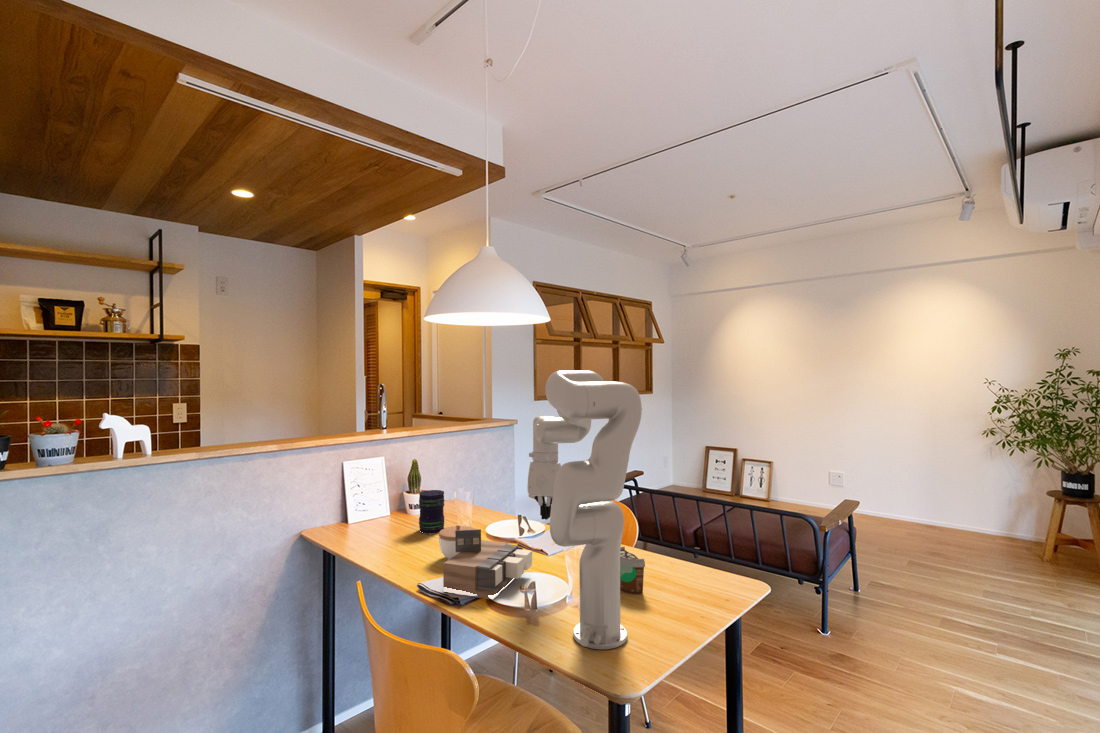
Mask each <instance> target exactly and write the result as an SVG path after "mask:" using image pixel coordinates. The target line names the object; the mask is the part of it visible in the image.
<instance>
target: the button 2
mask: <svg viewBox="0 0 1100 733" xmlns="http://www.w3.org/2000/svg"><path fill="white" fill-rule="evenodd" d="M513 553H515V557H517V558H523V570H524V571H527V570H529V569H530V568H531V567H532V566H533V550H529V549H528V550H527V549H523V550H521V549H516V550H515V551H514V552H513Z"/></svg>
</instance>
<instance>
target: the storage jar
mask: <svg viewBox="0 0 1100 733" xmlns="http://www.w3.org/2000/svg"><path fill="white" fill-rule="evenodd" d="M418 495H419V498H418V507H419V518H418V525H419V530H420V531H421V532H423V533H436V534H438V533H437V532H440V531H441V530H442V529H445V515H444V512H445V511H444V507H445V491H444V490H440V489H430V490H429V489H428V490H424V491H421V492H419V494H418ZM423 533H422V534H423Z"/></svg>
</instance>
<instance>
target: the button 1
mask: <svg viewBox="0 0 1100 733" xmlns="http://www.w3.org/2000/svg"><path fill="white" fill-rule="evenodd" d="M491 569H495V586H497V585H498V584H499V583H500V582H501V581H502V565H498V564H496V565H495V566H493V567H492V568H491Z"/></svg>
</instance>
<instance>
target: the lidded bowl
mask: <svg viewBox="0 0 1100 733" xmlns="http://www.w3.org/2000/svg"><path fill="white" fill-rule="evenodd" d="M476 529H477V528H476V527H472V526H467V525H460V524H456V525H455V526H448V527H446V528H445V527H444V529H442V530H441V531H440V532H439V533H438V536H439V547H440V548H439V549H440V551H441V554H442V555H443V556H444V557H445V558H446V561H447V560H449V559H450V558H452V557H454V556H455V555H457V554H458V553H460V552H456V537H455V531H456V530H476Z"/></svg>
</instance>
